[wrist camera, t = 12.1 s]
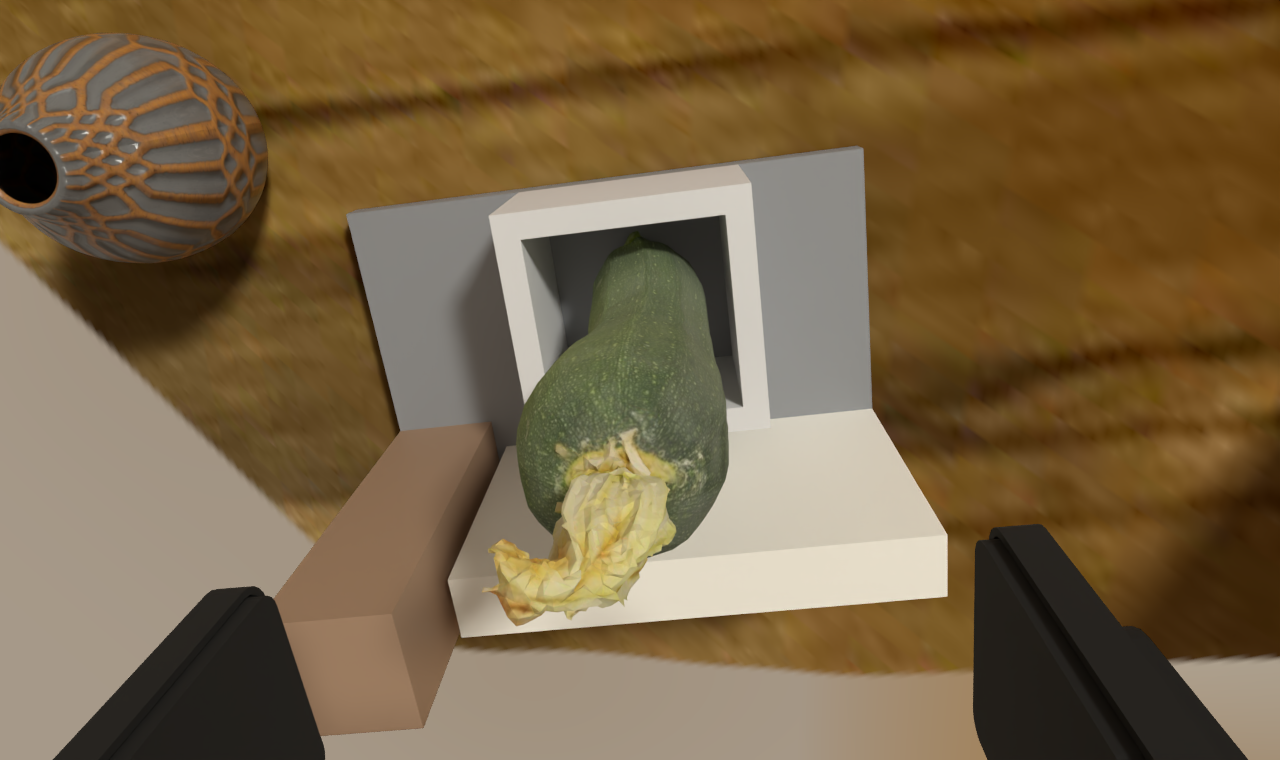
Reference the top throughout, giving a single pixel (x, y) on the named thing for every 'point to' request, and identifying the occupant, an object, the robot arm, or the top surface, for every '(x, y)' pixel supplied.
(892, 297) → the top surface
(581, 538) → the vegetable
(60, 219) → the vase
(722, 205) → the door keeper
